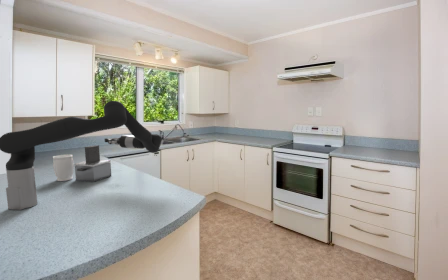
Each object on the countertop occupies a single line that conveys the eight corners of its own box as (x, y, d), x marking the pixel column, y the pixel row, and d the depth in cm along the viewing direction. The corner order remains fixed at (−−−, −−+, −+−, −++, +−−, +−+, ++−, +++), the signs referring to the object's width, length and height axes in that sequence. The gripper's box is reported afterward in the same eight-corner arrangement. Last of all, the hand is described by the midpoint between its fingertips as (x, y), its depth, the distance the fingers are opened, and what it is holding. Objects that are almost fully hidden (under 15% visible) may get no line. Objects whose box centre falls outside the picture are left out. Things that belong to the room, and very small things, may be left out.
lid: (93, 166, 140) (91, 148, 139) (74, 165, 144) (73, 147, 143) (110, 161, 154) (109, 145, 152) (93, 160, 158) (92, 144, 156)
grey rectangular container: (90, 183, 139) (89, 168, 138) (71, 181, 143) (70, 166, 142) (114, 174, 158) (113, 161, 157) (97, 173, 162) (96, 160, 161)
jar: (64, 182, 141) (62, 157, 139) (50, 181, 143) (47, 157, 141) (78, 177, 151) (77, 154, 149) (65, 176, 153) (63, 153, 151)
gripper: (121, 149, 134) (97, 147, 138) (136, 146, 146) (113, 144, 151) (121, 136, 133) (96, 134, 137) (136, 134, 145) (113, 133, 150)
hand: (105, 140), depth 144 cm, fingers closed
